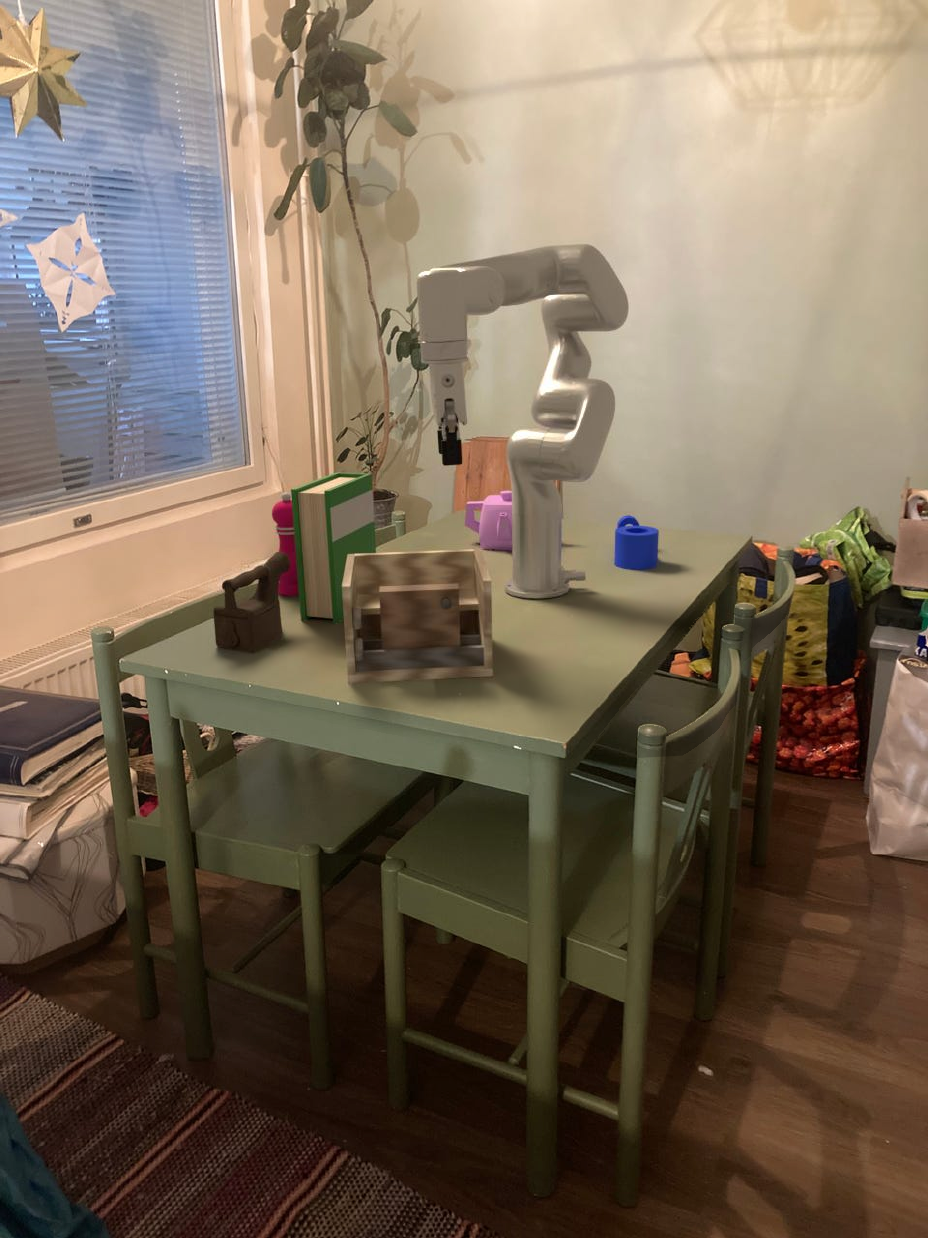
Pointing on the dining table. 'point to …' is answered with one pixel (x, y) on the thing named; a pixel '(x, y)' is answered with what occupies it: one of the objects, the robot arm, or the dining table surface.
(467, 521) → the teakettle
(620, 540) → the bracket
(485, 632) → the wooden shelf rack
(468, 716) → the dining table surface
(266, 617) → the clothes iron
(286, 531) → the pepper mill
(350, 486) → the hardback book
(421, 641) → the wooden block
